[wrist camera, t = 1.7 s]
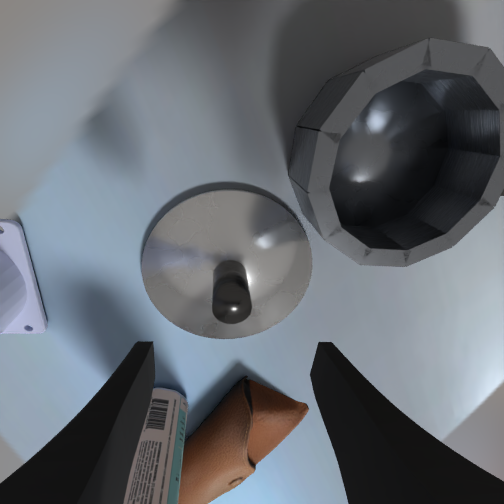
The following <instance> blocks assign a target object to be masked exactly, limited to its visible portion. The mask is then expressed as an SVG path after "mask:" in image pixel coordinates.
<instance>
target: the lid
mask: <svg viewBox="0 0 504 504" xmlns="http://www.w3.org/2000/svg"><path fill="white" fill-rule="evenodd" d="M311 273H312V253H311V248H310V245H309V241H308V239H307V237H306V234H305V232H304V230H303V229H302V227H301V226H300V225H299V223H298V222H297V220H296V219H295V218H294V217H293V216H292V215H291V214H290V212H289V211H287V210H286V209H285V208H284V207H282V206H281V205H280V204H278V203H277V202H275V201H273V200H272V199H270V198H267V197H265V196H263V195H260V194H257V193H254V192H250V191H245V190H238V189H221V190H212V191H208V192H204V193H200V194H197V195H195V196H192V197H190V198H187V199H186V200H184V201H182V202H180V203H178V204H177V205H176V206H174V207H173V208H172V209H170V210H169V211H168V212H167V213H166V214H165V215H164V216H163V217H162V218H161V219H160V220H159V221H158V223H157V224H156V226H155V227H154V228H153V230H152V232H151V234H150V236H149V238H148V240H147V242H146V245H145V248H144V251H143V257H142V277H143V283H144V286H145V289H146V292H147V294H148V296H149V298H150V300H151V301H152V303H153V304H154V306H155V307H156V308H157V309H158V311H159V312H160V313H161V314H162V315H163V316H164V317H165V318H167V319H168V320H169V321H170V322H172V323H173V324H175V325H176V326H178V327H180V328H181V329H183V330H185V331H188V332H190V333H193V334H196V335H199V336H203V337H208V338H215V339H235V338H242V337H247V336H251V335H254V334H257V333H260V332H263V331H265V330H267V329H269V328H271V327H273V326H274V325H276V324H277V323H279V322H280V321H282V320H283V319H284V318H286V317H287V316H288V315H289V314H290V313H291V312H292V311H293V310H294V309H295V308H296V306H297V305H298V304H299V303H300V301H301V299H302V298H303V296H304V294H305V292H306V290H307V288H308V285H309V282H310V279H311Z"/></svg>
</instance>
